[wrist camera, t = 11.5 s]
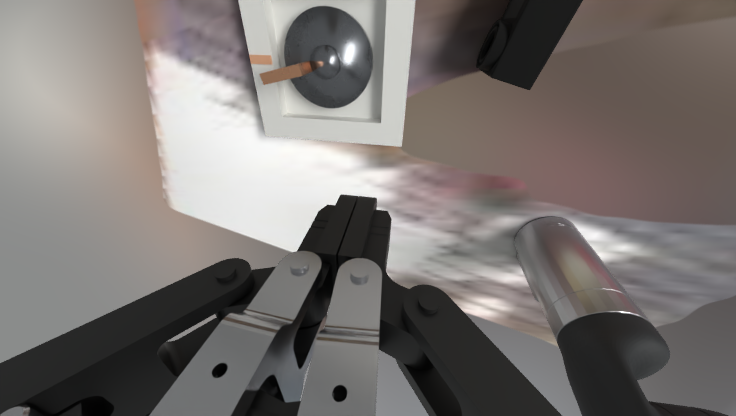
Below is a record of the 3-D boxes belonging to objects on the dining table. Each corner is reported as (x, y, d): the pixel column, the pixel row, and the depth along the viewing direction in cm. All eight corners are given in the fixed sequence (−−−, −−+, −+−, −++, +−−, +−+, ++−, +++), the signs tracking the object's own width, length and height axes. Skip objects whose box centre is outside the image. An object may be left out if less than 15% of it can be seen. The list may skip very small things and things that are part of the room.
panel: (402, 140, 39) (401, 147, 37) (273, 130, 41) (265, 136, 39) (419, -46, 28) (420, -53, 26) (241, -44, 30) (227, -50, 28)
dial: (362, -6, 30) (350, -13, 25) (380, 97, 35) (374, 108, 30) (266, 23, 33) (239, 22, 28) (297, 113, 38) (279, 126, 34)
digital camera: (518, -47, 27) (545, -67, 21) (569, -29, 27) (609, -45, 21) (468, 66, 33) (479, 74, 27) (510, 79, 33) (530, 90, 27)
